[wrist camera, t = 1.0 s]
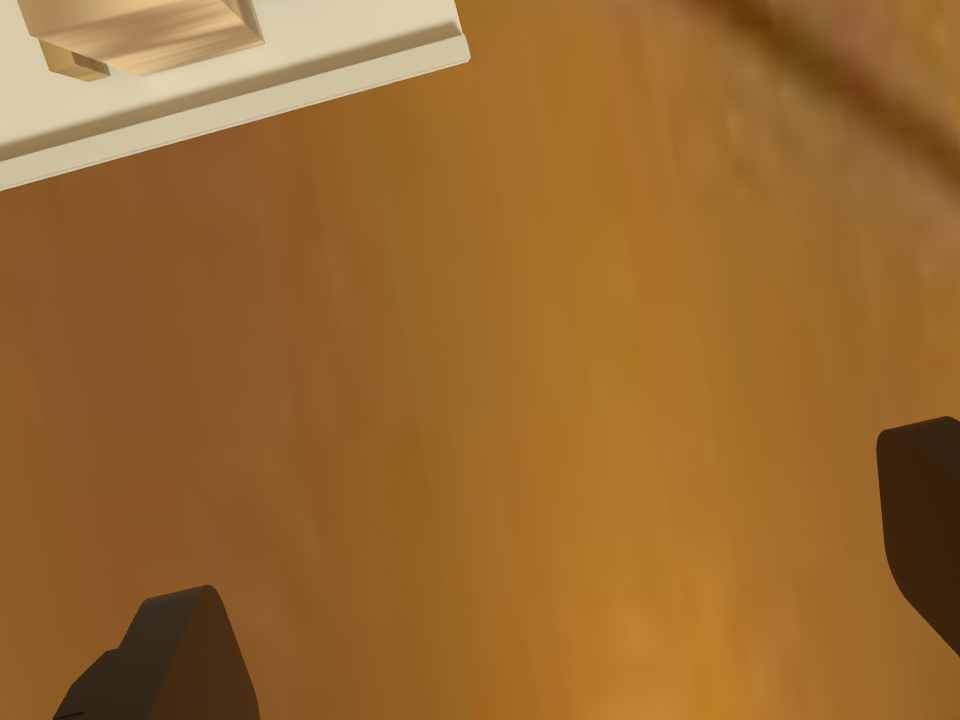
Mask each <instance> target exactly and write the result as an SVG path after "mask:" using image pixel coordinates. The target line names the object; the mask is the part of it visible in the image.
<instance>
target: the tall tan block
mask: <svg viewBox="0 0 960 720" xmlns="http://www.w3.org/2000/svg"><path fill="white" fill-rule="evenodd" d="M17 2H18V5H19V8H20V10H21V13H22V16H23V18H24V21H25V24H26V27H27V29H28V32H29V35H30V36H32V37H35V38H37V39H38V41H39V44H40V46H41V49H42V52H43V55H44V57H45V60H46V63H47V65H48V68H49V71H51V72H55V73H58V74H62V75H65V76H69V77H72V78H76V79H79V80H83V81H86V82H91V81H94V80H98V79H102V78H105V77H109V76H111V75H110V72H109V69H108V66H107V64H108V65H111V66H113V67H116V68H119V69H121V70H124V71H127V72H130V73H132V74H135V75H138V76H140V77H146V76H150V75H153V74H157V73H161V72H164V71H168V70H172V69H175V68H179V67H183V66H186V65H190V64H194V63H197V62H201V61H205V60H208V59H212V58H216V57H219V56H223V55H227V54H230V53H234V52H238V51H241V50H245V49H249V48H252V47H256V46H260V45H263V44H265V41H264V38H263V35H262V32H261V28H260V25H259V22H258V19H257V15H256V12H255V9H254V6H253V3H252V0H17Z"/></svg>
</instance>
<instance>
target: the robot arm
mask: <svg viewBox="0 0 960 720" xmlns="http://www.w3.org/2000/svg"><path fill="white" fill-rule="evenodd" d="M876 451H877V464H878V476H879V487H880V498H881V510H882V521H883V532H884V543H885V551H886V556H887V560H888V563H889V567H890V569H891V572H892V575H893V577H894V579H895V581H896V583H897V585H898V587H899V589H900V591H901V592H902V594H903V595H904V597H905V598H906V599H907V601H908V602H909V603H910V604H911V605H912V606H913V607H914V608H915V609H916V610H917V611H918V613H919V614H920V615H921V616H922V617H923V618H924V619H925V620H926V621H927V622H928V623H929V624H930V625H931V626H932V628H933V629H934V630H935V631H936V632H937V633H938V634H939V635H940V636H941V637H942V638H943V639H944V640H945V642H946V643H947V644H948V645H949V646H950V647H951V648H952V649H953V650H954V651H955V652H956V653H957V654H958V655H959V657H960V422H959V421H958V420H956V419H954V418H952V417H949V416H944V417H939V418H935V419H931V420H926V421H922V422H918V423H913V424H909V425H905V426H900V427H896V428H892V429H887V430H884V431H882V432H881V433H880V435H879V437H878V440H877V448H876ZM53 720H260V715H259V708H258V703H257V698H256V694H255V691H254V688H253V685H252V682H251V679H250V677H249V674H248V671H247V668H246V666H245V663H244V660H243V657H242V655H241V652H240V649H239V646H238V643H237V641H236V638H235V635H234V632H233V630H232V627H231V624H230V621H229V619H228V616H227V613H226V610H225V607H224V605H223V602H222V600H221V598H220V596H219V594H218V592H217V591H216V589H215V588H214V587H212V586H211V585H204V586H200V587H196V588H191V589H187V590H183V591H178V592H174V593H170V594H165V595H161V596H157V597H152V598H148V599H146V600H145V601H144V602H143V603H142V604H141V606H140V608H139V610H138V612H137V614H136V615H135V617H134V619H133V621H132V623H131V625H130V627H129V629H128V631H127V633H126V635H125V637H124V638H123V640H122V642H121V644H120V646H119V648H118V649H114V650H109V651H106V652H105V653H104V654H103V655H102V656H101V657H100V658H99V659H98V660H97V661H96V662H95V663H93V664H92V665H91V666H90V667H89V668H88V669H87V670H86V671H85V672H84V673H83V674H82V675H81V676H80V677H79V678H78V679H77V680H76V681H75V682H74V683H73V684H72V685H71V687H70V689H69V691H68V692H67V694H66V696H65V698H64V699H63V701H62V703H61V705H60V707H59V708H58V710H57V712H56V714H55V715H54V717H53Z"/></svg>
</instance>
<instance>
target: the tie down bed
mask: <svg viewBox="0 0 960 720" xmlns="http://www.w3.org/2000/svg"><path fill="white" fill-rule="evenodd" d="M252 3H253V6H254V9H255V12H256V15H257V19H258V22H259V25H260V28H261V32H262V35H263V38H264V41H265V44H263V45H260V46H256V47H252V48H249V49H245V50H241V51H238V52H234V53H230V54H227V55H223V56H219V57H216V58H212V59H208V60H205V61H201V62H197V63H194V64H190V65H186V66H183V67H179V68H175V69H172V70H168V71H164V72H161V73H157V74H153V75H150V76H146V77H140V76H138V75H135V74H132V73H130V72H127V71H124V70H121V69H119V68H116V67H113V66H111V65H108V64H107V66H108V69H109V72H110V75H111V76H109V77H105V78H102V79H98V80H94V81H91V82H86V81H83V80H79V79H76V78H72V77H69V76H65V75H62V74H58V73H55V72H51V71H49V68H48V65H47V63H46V60H45V57H44V55H43V52H42V49H41V46H40V44H39V41H38V39H37V38H35V37H32V36H30V35H29V32H28V29H27V27H26V24H25V21H24V18H23V16H22V13H21V10H20V8H19V5H18V2H17V0H0V191H2V190H5V189H9V188H13V187H16V186H20V185H24V184H27V183H31V182H34V181H38V180H42V179H45V178H49V177H53V176H56V175H60V174H63V173H67V172H71V171H74V170H78V169H82V168H85V167H89V166H92V165H96V164H100V163H103V162H107V161H111V160H114V159H118V158H121V157H125V156H129V155H132V154H136V153H140V152H143V151H147V150H150V149H154V148H158V147H161V146H165V145H169V144H172V143H176V142H179V141H183V140H187V139H190V138H194V137H198V136H201V135H205V134H208V133H212V132H216V131H219V130H223V129H227V128H230V127H234V126H237V125H241V124H245V123H248V122H252V121H256V120H259V119H263V118H266V117H270V116H274V115H277V114H281V113H285V112H288V111H292V110H295V109H299V108H303V107H306V106H310V105H314V104H317V103H321V102H324V101H328V100H332V99H335V98H339V97H343V96H346V95H350V94H353V93H357V92H361V91H364V90H368V89H372V88H375V87H379V86H382V85H386V84H390V83H393V82H397V81H401V80H404V79H408V78H411V77H415V76H419V75H422V74H426V73H430V72H433V71H437V70H440V69H444V68H448V67H451V66H455V65H459V64H462V63H466V62H468V61H469V59H470V58H471V56H470V52H469V48H468V45H467V41H466V37H465V34H464V35H463V33H462V29H461V25H460V21H459V18H458V14H457V10H456V6H455V2H454V0H252Z"/></svg>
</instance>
